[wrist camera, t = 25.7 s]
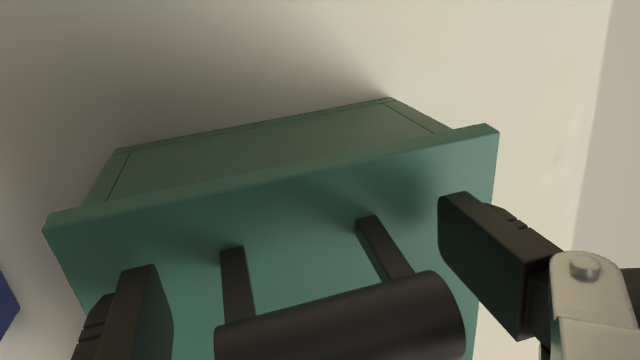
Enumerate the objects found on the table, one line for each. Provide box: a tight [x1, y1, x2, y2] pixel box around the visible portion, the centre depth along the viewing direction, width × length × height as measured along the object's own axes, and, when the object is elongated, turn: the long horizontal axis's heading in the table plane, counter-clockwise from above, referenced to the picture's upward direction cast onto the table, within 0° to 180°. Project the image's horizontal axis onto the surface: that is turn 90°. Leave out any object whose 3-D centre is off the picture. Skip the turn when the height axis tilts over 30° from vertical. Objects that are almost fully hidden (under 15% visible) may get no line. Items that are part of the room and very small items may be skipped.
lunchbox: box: [80, 97, 453, 207], centre depth 20 cm, size 17×13×6 cm
